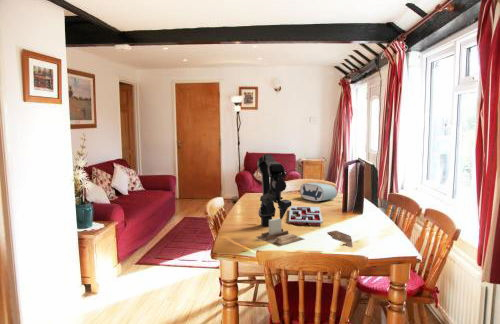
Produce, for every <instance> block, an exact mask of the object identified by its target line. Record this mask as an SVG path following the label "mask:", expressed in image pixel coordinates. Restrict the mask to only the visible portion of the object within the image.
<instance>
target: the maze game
mask: <svg viewBox="0 0 500 324" xmlns="http://www.w3.org/2000/svg"><path fill="white" fill-rule="evenodd" d="M288 223H290V225H296V224H302V226H303V225H305V226H306V225H308V226H321V224H323V223H324V220H323V216H322V213H321V209H320V206H296V205H295V206H293V205H291V206H290V207H289V216H288Z"/></svg>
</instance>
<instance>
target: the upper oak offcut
mask: <svg viewBox="0 0 500 324" xmlns="http://www.w3.org/2000/svg"><path fill="white" fill-rule="evenodd" d="M294 238H297V234H294V233H290V234H288V235H284V236H280V237H277V240H279V241H281V242H283V241H287V240H291V239H294Z"/></svg>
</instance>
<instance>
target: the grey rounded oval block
mask: <svg viewBox="0 0 500 324" xmlns="http://www.w3.org/2000/svg"><path fill="white" fill-rule="evenodd" d="M299 194H300V197H302V198H303V199H305V200H306V201H312V202H321V201H322V202H323V201H329V200H333V199H335V198H336V197H337V196H338V191H337V189H336V187H335V186H333V185H332V184H331V185H330V184H326V183H320V182H310V183H309V182H308V183H306V182H305V183H303V184H301V186H300V188H299Z"/></svg>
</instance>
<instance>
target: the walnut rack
mask: <svg viewBox="0 0 500 324" xmlns="http://www.w3.org/2000/svg"><path fill="white" fill-rule="evenodd" d="M288 234H291V233H289V230H284V229H283V228H281V232H279V233H275V234H271V235H269V231H266V232H263V233H262V232H261V235H259V236H256V238H257V239H259V240H262V241H263V242H266V243H269V244H270V245H274V246H276V247H278V248H279V247H282V246H286V245H289V244H293V243H297V242H300V241H303V240H305V238H304V237H300V236H297V237H300V240H297V241H293V242H290V243H286V244H283V245H281V244H279V243H276V242H275V240H276V239H277V237H280V236H284V235H288Z"/></svg>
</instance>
